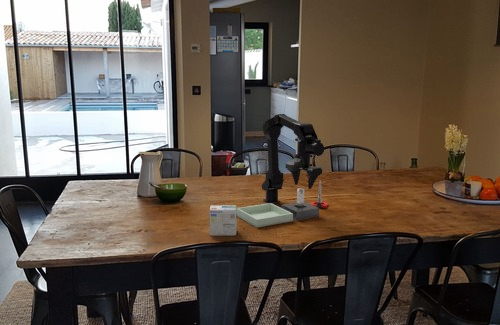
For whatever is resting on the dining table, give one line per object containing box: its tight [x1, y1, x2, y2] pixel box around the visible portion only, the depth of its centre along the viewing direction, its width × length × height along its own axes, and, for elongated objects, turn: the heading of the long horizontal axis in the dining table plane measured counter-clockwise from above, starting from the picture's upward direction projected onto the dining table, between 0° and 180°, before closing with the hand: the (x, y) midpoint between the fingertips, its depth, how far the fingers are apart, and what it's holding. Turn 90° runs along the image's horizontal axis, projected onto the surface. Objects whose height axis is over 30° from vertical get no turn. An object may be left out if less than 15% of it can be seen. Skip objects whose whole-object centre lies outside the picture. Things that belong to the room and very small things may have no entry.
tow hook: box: [310, 180, 329, 209], centre depth 237 cm, size 8×13×9 cm
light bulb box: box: [209, 204, 238, 236], centre depth 198 cm, size 11×7×11 cm, turn 92°
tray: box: [236, 203, 294, 229], centre depth 217 cm, size 18×18×4 cm
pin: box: [296, 187, 305, 208], centre depth 222 cm, size 3×3×12 cm
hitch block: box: [281, 201, 320, 221], centre depth 223 cm, size 12×12×4 cm
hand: (302, 186), depth 221 cm, fingers open, 9 cm apart
